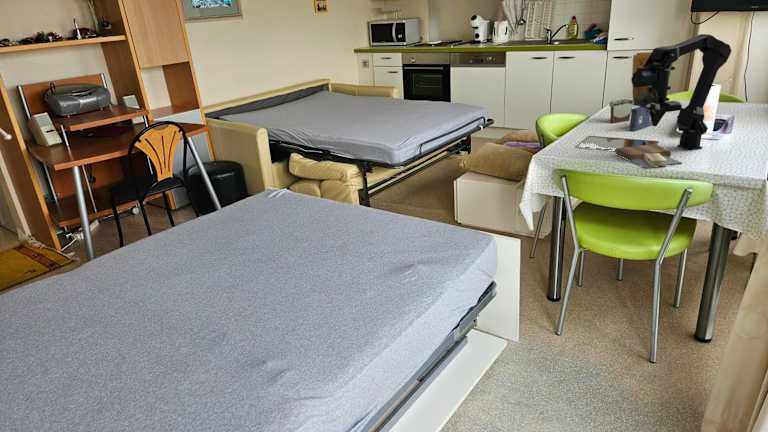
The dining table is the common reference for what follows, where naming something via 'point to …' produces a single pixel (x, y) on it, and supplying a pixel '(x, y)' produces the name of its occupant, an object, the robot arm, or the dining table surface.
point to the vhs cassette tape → (640, 119)
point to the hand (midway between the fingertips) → (654, 126)
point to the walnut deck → (641, 151)
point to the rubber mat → (646, 165)
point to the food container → (621, 110)
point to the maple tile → (655, 159)
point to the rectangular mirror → (615, 142)
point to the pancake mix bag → (637, 62)
